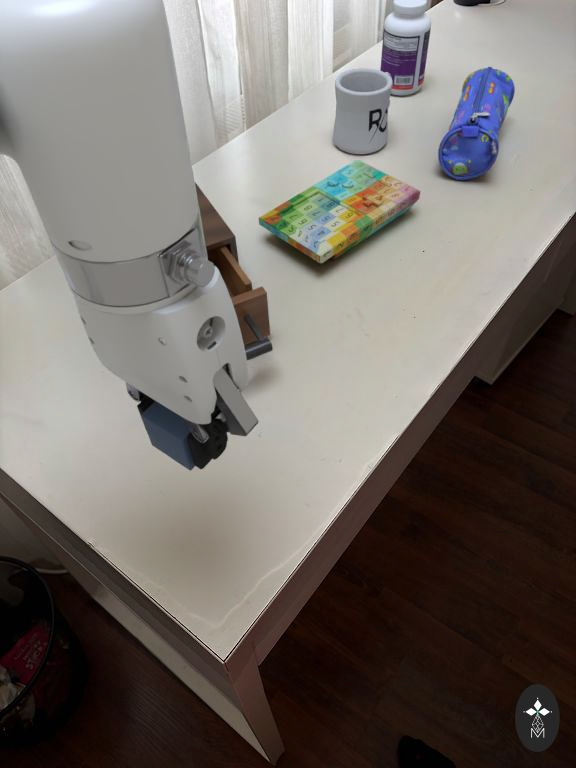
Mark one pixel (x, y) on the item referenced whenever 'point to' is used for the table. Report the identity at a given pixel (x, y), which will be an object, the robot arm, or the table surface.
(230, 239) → the cabinet
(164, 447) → the block
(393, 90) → the pill bottle
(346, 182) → the puzzle game
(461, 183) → the table surface
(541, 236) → the table surface
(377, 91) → the mug
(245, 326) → the drawer
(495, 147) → the pencil case
